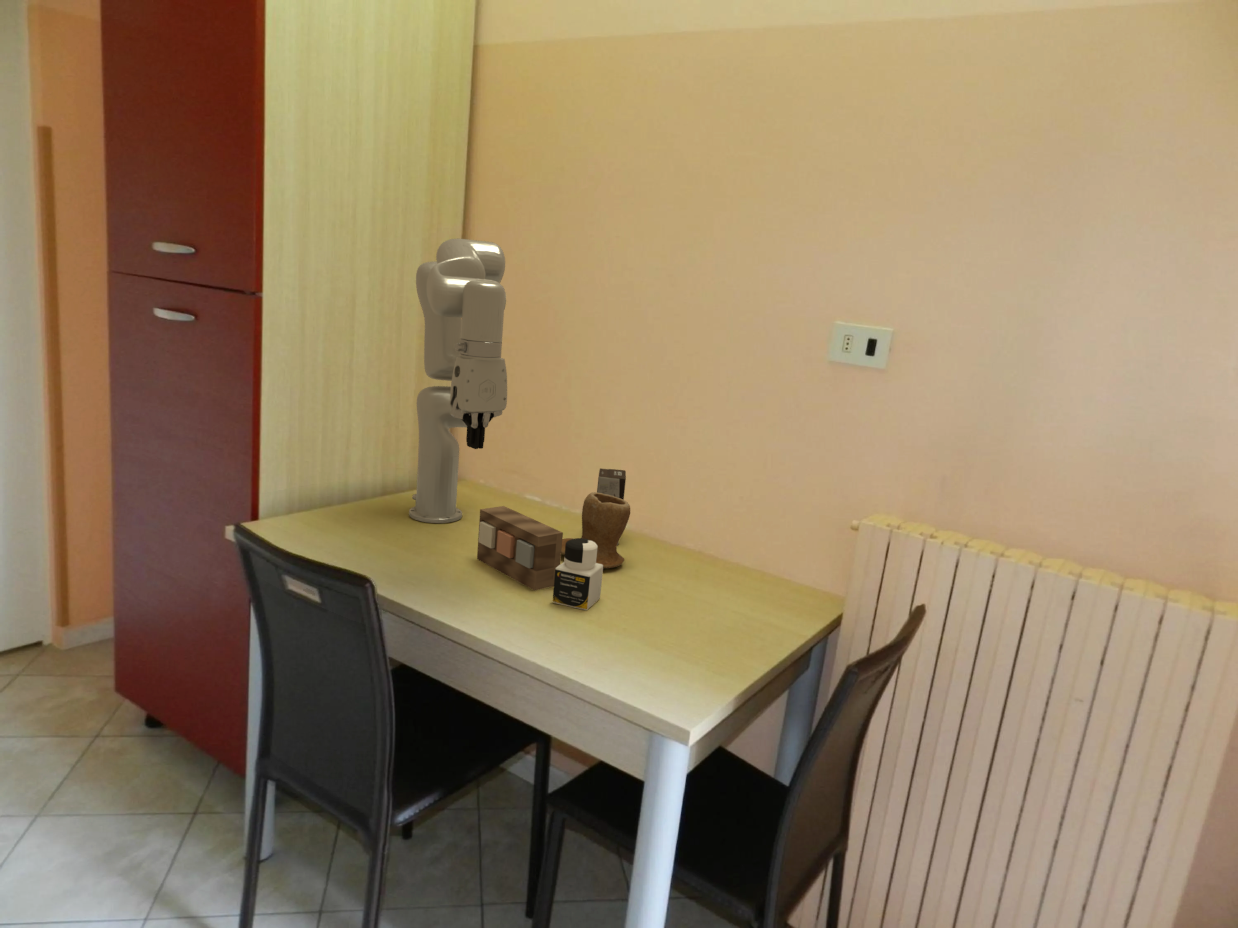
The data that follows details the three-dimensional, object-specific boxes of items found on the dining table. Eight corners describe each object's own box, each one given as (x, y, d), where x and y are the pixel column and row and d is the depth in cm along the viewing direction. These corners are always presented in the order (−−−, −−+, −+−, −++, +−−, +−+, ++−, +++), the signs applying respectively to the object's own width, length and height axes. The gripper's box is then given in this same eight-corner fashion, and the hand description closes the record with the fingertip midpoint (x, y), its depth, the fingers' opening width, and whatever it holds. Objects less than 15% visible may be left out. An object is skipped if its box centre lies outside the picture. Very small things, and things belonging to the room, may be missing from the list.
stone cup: (636, 564, 186) (643, 498, 183) (600, 576, 177) (607, 507, 173) (584, 545, 195) (590, 482, 192) (548, 555, 186) (554, 489, 183)
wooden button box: (476, 559, 179) (480, 509, 177) (500, 554, 183) (503, 505, 181) (534, 590, 165) (538, 536, 163) (558, 585, 169) (563, 532, 167)
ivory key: (478, 542, 177) (479, 521, 176) (494, 539, 180) (495, 519, 179) (490, 548, 174) (492, 528, 173) (506, 545, 177) (508, 525, 176)
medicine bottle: (551, 602, 160) (556, 542, 158) (566, 591, 167) (571, 532, 164) (586, 611, 158) (592, 550, 155) (600, 598, 165) (606, 539, 162)
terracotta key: (496, 551, 173) (497, 530, 172) (512, 548, 175) (514, 528, 174) (509, 558, 169) (510, 537, 168) (525, 555, 172) (527, 534, 171)
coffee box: (619, 545, 197) (626, 478, 194) (591, 543, 197) (597, 476, 194) (619, 534, 206) (626, 469, 203) (593, 531, 206) (599, 467, 203)
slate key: (515, 561, 168) (516, 540, 167) (531, 558, 171) (533, 537, 170) (529, 568, 165) (530, 546, 164) (545, 565, 168) (547, 543, 167)
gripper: (456, 352, 149) (451, 454, 153) (525, 353, 159) (518, 448, 163) (434, 347, 154) (429, 445, 158) (502, 347, 164) (496, 440, 168)
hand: (474, 447), depth 160 cm, fingers closed
